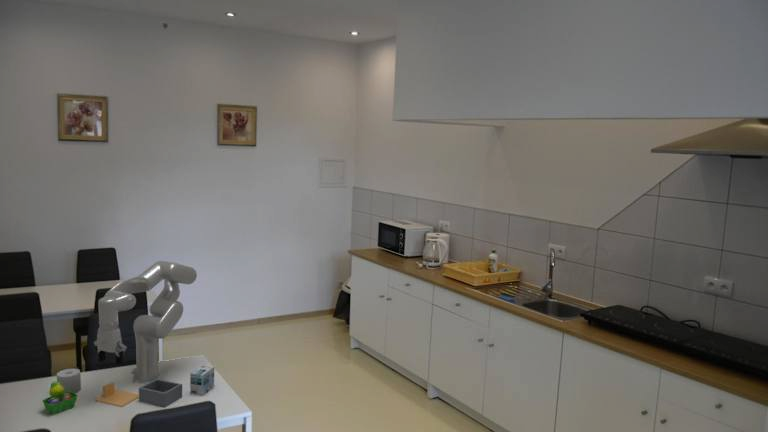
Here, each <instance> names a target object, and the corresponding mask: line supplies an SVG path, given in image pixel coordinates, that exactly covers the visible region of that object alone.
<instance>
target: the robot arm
mask: <svg viewBox="0 0 768 432" xmlns="http://www.w3.org/2000/svg"><path fill="white" fill-rule="evenodd" d="M197 273H198V272H197V270H196V269H195V268H194V267H192V266H187V265H184V264H181V263H178V262H172V261H165V260H159V261H156V262H154V263H153V264H152V265H150V266H149V267H148V268H147V269H145V270H144V271H143V272H141V273H140V274H138V276H134V277H132V278H129V279H124V280H123V281H121V282H118V283H117V284H115V285H114V286H113V287H111V288H110V289H109V290H107V292H106V293H105V294H104V296H103V297H101V298H99V299H98V302H97V304H98V307H97V308H98V324H99V327H98V329H97V335H96V340H95V341H93V344H94V347H95V349H96V350H97V351H96V352H97V353H98V362H104V361H105V360H106V359H107V358H106V355H107V354H106V353H114V354H115V355H116V357H115V363H116V364H115V365H116V366H119V365H121V364H123V363H124V360H123V359H124V358H123V357H124V354H126V350H127V349H128V347H127V346H126V345H125V344H124V343H123V341H122V340H123V339H122V334H121V329H120V327H119V325H120V324H119V323H120V322H119V312H126V311H129V310H131V309H133V308H134V307H135V306H136V304H137V298H136V296H135V295H133V294H137V293H138V294H139V293H144V292H149V291H150V290H152V289H153V288H154V287H156V286H157V285H158V284H159V283H161V282H162V281H163V280H164V283H163V284H164V286H163V289H162V290H161V292H160V293H159V294H158V295H157V296H156V298H155V300H154V301H153V302H152V303H151V305H150V306H149V313H150V315H149V314H142V315H139V316H138V317H136V318H135V319H134V322H133V333H134V337H135V346H136V347H135V352H136V353H135V354H136V356H135V358H136V362H135V363H136V367H133V368H132V370H131V371H130V373H131V374H133V375H134V377H133V378H132V382H133V383H134V384H135V383H137V384H147V383H149V382H151V381H153V380H155V379H161V380H162V377H163V375H162V374H161V373H160V372H159V345H158V339H159V340H160V339H162V340H163V339H164V338H166V337H168V335H169V334H170V333H171V332H172V331H173V329H174V328H175V326H176V325H177V323H178V322H179V321H180V320H181V318H182V316H183V313H184V305H183V304H182V302H180V301H179V300H178V299H179V297H180V294H181V290H180V286H179V284H181V285H182V284H183V285H192V284H193V283H194V282H195V281H196V279H197V276H198V275H197Z"/></svg>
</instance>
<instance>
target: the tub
mask: <svg viewBox="0 0 768 432" xmlns="http://www.w3.org/2000/svg"><path fill="white" fill-rule="evenodd" d="M155 390H156V391H155ZM166 390H168V391H167V392H165V393H164V391H166ZM160 391H161V392H160ZM138 394H139V398H138V402H141V403H146V404H150V405H153V406H157V407H162V408H167V407H168V406H170V405H171V404H172V405H173V403H175V402H176V401H178V400H180V399H181V398H183V383H179V382H176V381H175V382H174V381H169V380H165V379H162V378H161V379H155V380H153V381H151V382H149V383H144V385H141V386H139V387H138Z"/></svg>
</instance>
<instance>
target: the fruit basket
mask: <svg viewBox="0 0 768 432" xmlns="http://www.w3.org/2000/svg"><path fill="white" fill-rule="evenodd" d="M63 391H64V387H63V386H62V385H60V383H58V382H57V381H53V382H52V383H50V388H49V395H50V396H49V397H47V398H44V399H42V403H43V404H44V405H43V406H44V408H45V411H46V412H48V413H49V414H52V415H56V414H58V413H61V412H63V411H66V410H69V409H72V408H74V407H75V405H76V401H77V398H78V394H77V393H75V394H74V393H72V392H70V391H66V392H63Z"/></svg>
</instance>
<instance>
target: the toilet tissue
mask: <svg viewBox="0 0 768 432" xmlns="http://www.w3.org/2000/svg"><path fill="white" fill-rule="evenodd" d="M81 376H82V375H81V370H80V369H79V368H67V369H63V370H60V371H58V372H57V373H56V382H58V383H60V385H62V386H63V387H64V391H63V392H66V391H70V392H72V393H74V394H77V393H79V392H80V391H82V385H81V384H82V383H81V381H82V380H81V379H82V378H81Z"/></svg>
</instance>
